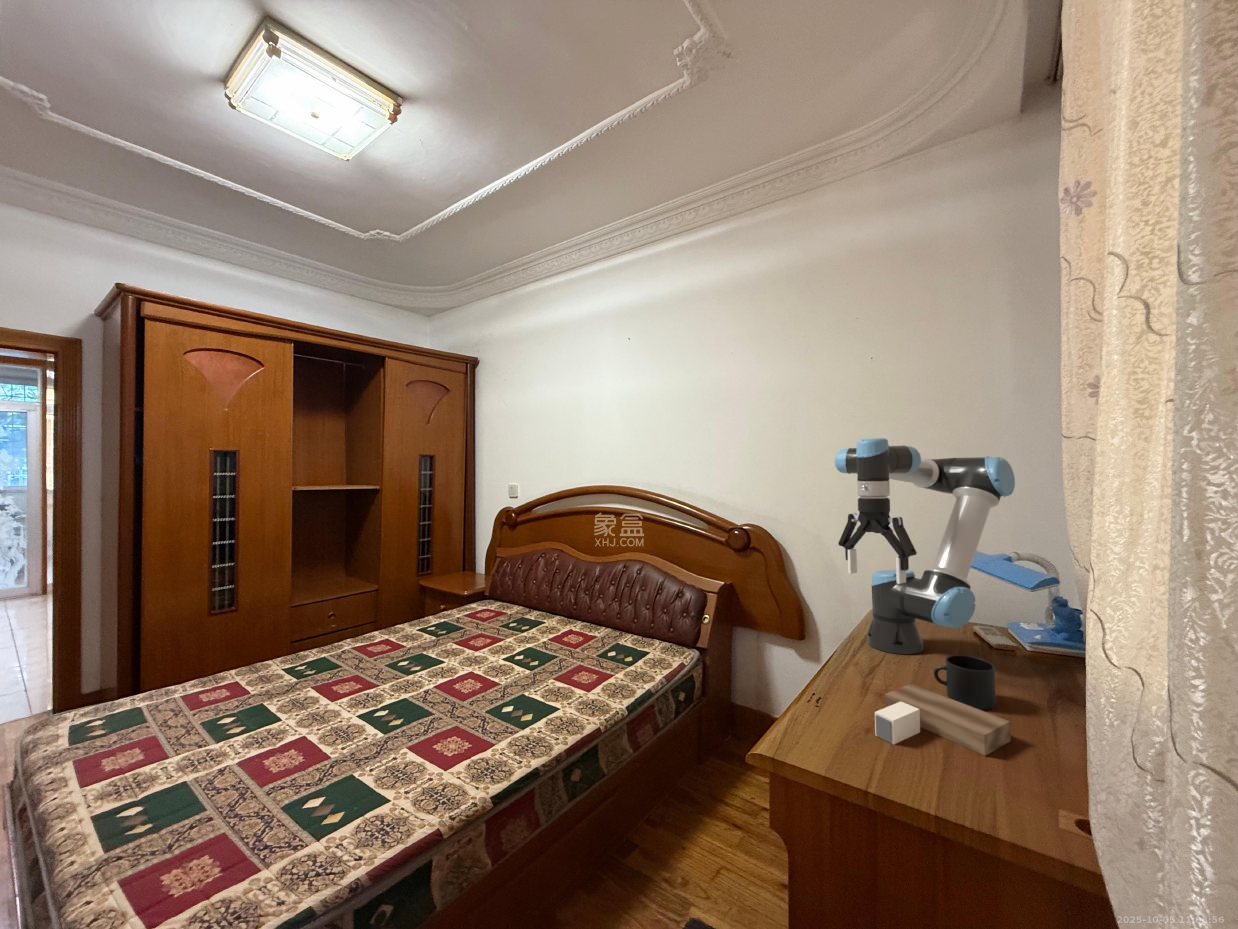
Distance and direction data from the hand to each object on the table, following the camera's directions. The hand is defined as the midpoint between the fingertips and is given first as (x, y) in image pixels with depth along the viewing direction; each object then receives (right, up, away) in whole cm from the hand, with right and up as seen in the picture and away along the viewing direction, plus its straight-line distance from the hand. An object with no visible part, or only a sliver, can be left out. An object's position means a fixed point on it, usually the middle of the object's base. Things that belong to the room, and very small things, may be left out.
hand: (875, 577), depth 128 cm
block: (-5, -24, -23) cm, 34 cm away
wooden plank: (+3, -27, -23) cm, 35 cm away
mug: (+15, -27, -12) cm, 33 cm away
